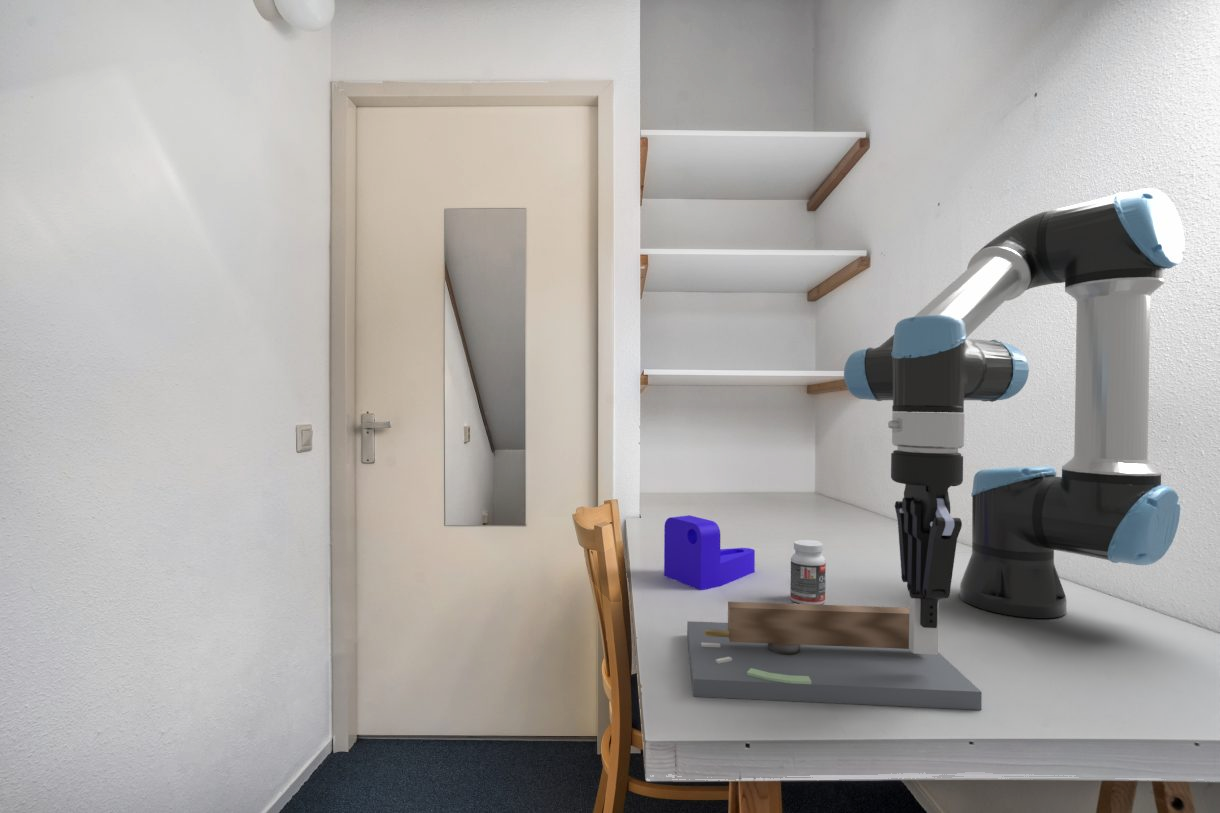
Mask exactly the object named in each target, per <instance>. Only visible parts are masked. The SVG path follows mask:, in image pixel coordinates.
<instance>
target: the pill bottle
mask: <svg viewBox="0 0 1220 813" xmlns="http://www.w3.org/2000/svg"><path fill="white" fill-rule="evenodd" d="M823 546H824V545H823V543H822V542H821V541H819V540H814V539H813V540H812V539H811V540H810V539H799V540H798V539H797V540H795V541H794V542H793V549H794V551H795V553H794V554H792V555H791V557H790V594H789V595H790V599H791V600H792V602H794V603H795V604H814V605H824V604H825V602H826V566H827V564H826V563H827V562H826V559H825V557H824V556H823V555H822V552H823V551H824V548H823Z"/></svg>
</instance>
